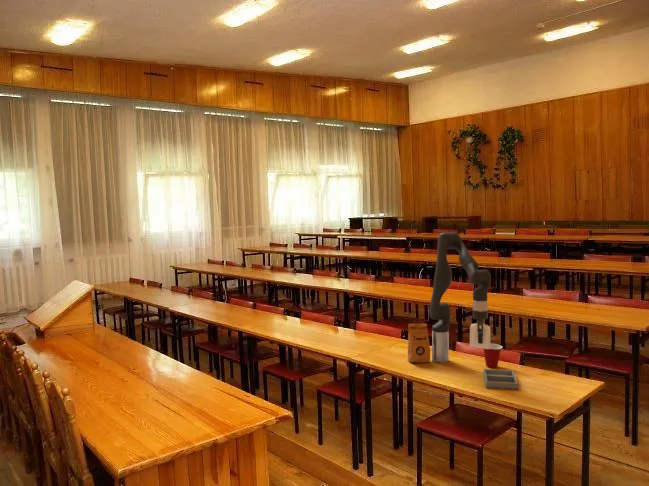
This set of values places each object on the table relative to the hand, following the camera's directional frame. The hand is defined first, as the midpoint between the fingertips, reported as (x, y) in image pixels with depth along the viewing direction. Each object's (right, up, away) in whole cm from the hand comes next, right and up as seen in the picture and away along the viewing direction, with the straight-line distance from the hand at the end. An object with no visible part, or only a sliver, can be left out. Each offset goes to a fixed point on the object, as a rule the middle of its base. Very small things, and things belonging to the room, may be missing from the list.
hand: (480, 341), depth 278 cm
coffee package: (-25, -18, +35) cm, 46 cm away
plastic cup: (+13, -18, +23) cm, 32 cm away
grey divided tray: (+9, -20, -3) cm, 22 cm away
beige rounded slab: (0, -3, 0) cm, 3 cm away
